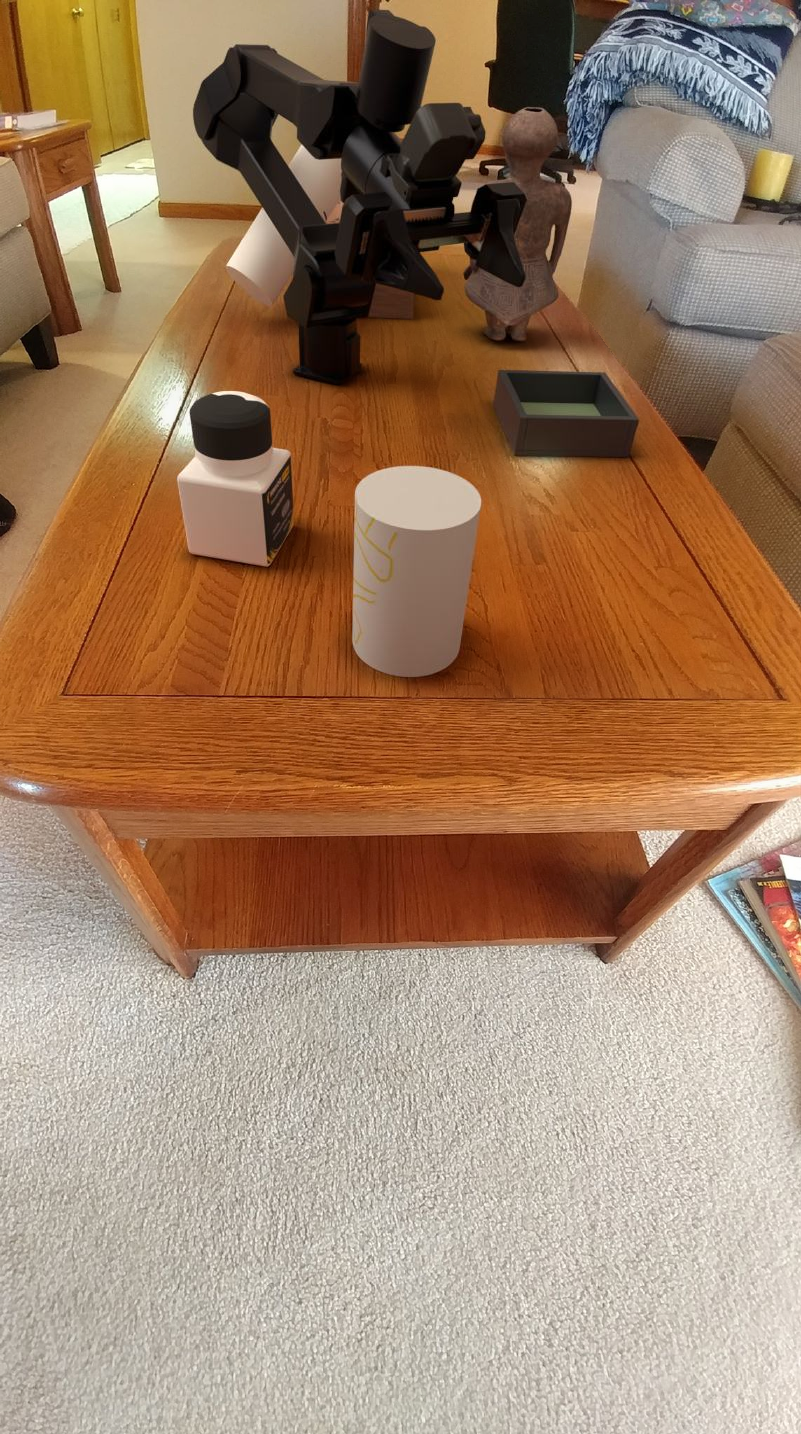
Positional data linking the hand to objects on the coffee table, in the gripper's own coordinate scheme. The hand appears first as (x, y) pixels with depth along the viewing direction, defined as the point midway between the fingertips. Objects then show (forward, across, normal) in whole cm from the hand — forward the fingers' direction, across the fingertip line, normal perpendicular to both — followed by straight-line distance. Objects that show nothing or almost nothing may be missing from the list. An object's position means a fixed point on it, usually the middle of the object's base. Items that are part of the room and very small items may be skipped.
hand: (483, 288), depth 66 cm
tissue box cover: (-45, +21, +33) cm, 60 cm away
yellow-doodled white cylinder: (+25, -21, +9) cm, 34 cm away
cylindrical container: (-38, -2, +26) cm, 46 cm away
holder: (+4, +15, +16) cm, 22 cm away
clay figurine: (-20, +28, +24) cm, 42 cm away
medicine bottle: (+7, -26, +15) cm, 31 cm away
